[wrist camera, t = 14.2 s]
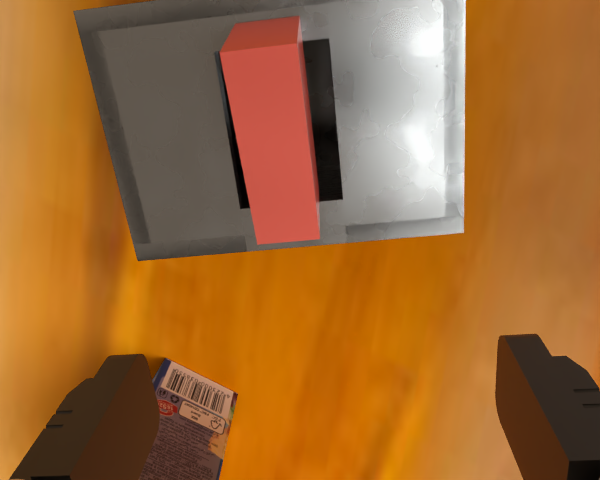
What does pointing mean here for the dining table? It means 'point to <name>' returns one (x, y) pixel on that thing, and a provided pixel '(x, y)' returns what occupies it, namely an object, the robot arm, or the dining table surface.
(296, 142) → the red rectangular block
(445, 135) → the grey slotted box
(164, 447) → the blue tall cardboard box
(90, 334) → the dining table surface
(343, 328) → the dining table surface
